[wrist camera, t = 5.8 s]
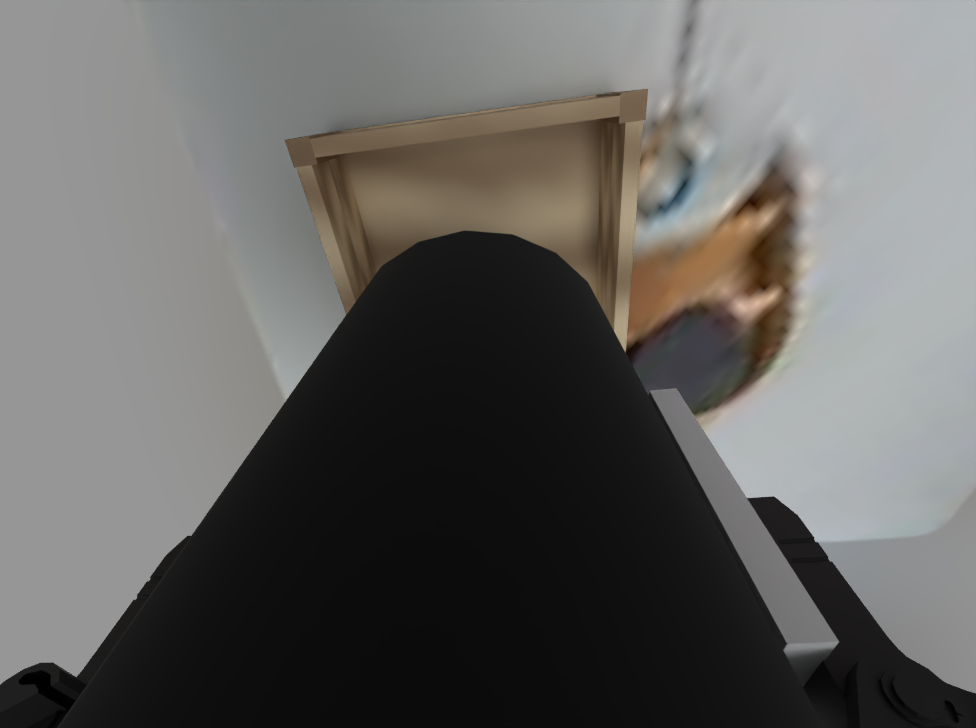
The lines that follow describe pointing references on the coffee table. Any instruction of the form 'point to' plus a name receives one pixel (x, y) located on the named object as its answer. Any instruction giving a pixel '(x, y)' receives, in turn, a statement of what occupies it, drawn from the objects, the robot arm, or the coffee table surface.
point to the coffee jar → (456, 536)
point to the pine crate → (484, 188)
